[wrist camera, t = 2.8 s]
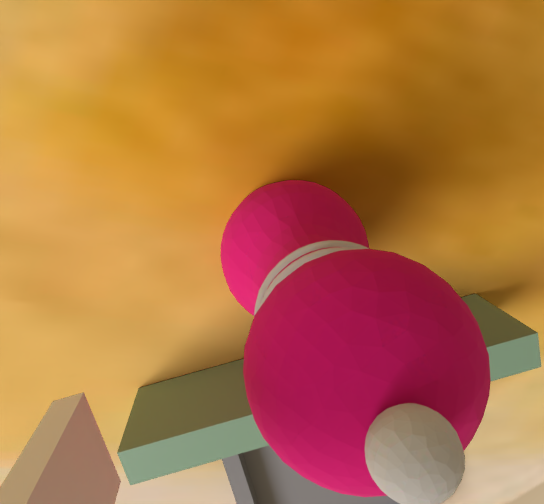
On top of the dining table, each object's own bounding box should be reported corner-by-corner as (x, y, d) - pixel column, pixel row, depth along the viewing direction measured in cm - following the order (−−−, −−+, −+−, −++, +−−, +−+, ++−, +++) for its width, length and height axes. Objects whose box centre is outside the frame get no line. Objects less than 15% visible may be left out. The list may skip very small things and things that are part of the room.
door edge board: (475, 293, 29) (537, 332, 23) (479, 321, 30) (541, 366, 24) (138, 388, 28) (117, 453, 23) (148, 415, 29) (130, 485, 23)
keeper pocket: (393, 360, 30) (408, 379, 27) (422, 505, 33) (438, 534, 31) (214, 410, 29) (213, 435, 27) (261, 552, 32) (264, 586, 30)
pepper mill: (257, 149, 26) (363, 197, 6) (365, 209, 27) (718, 393, 8) (199, 261, 27) (140, 586, 8) (305, 312, 28) (483, 692, 9)
